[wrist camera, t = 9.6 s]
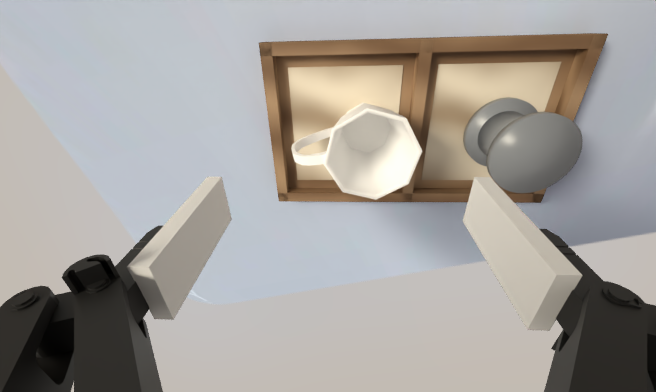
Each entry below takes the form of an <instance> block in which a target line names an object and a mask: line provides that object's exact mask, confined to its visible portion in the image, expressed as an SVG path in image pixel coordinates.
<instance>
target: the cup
mask: <svg viewBox="0 0 656 392" xmlns="http://www.w3.org/2000/svg"><path fill="white" fill-rule="evenodd" d="M328 137H330V140H329V144H328V148H327V151H325V152H321V153H316V154H311V155H303V154H300V153H297V152H298V151H299V150H300V149H301V148H303V147H305V146H307V145H309V144H312V143H314V142H317V141H320V140H322V139H325V138H328ZM291 150H292V154H293V158H294V161H295V162H296V163H298V164H301V165H307V166H311V165H322V164H324V166H325V167H326V169H327V170H328V172H329V173H330V174H331V176H332V177H333V179H334V180H335V182H336V183H337V185H338V186H339V188H340V189H341V191H342V192H344V193H349V194H353V195H357V196H362V197H366V198H370V199H375V200H377V199H379V198H381V197H383V196H385V195H387V194H389V193H391V192H393V191H395V190H397V189H399V188H402V187H404V186H406V185H408V184H409V182H410V179H411V177H412V175H413V172H414V170H415V168H416V165H417V163H418V160H419V158H420V156H421V153H422V149H421V147H420V145H419V143H418V141H417V139H416V137H415V135H414V133H413V131H412V129H411V127H410V124H409V122H408V120H407V118H405V117H403V116H402V115H399V114H397V113H395V112H393V111H391V110H389V109H385V108H381V107H379V106H375V105H371V104H367V103H363V102H362V103H361V104H359V105H357V106H356V107H354V108H353V109H351V110H349V111H348V112H347V113H346V114H345V115H344V116H342V117H341V118H340V119H339V121H338V122H337V123H336V125H335V126H334V127H332V128H328V129H324V130H322V131H319V132H316V133H313V134H310V135H308V136H305V137H303V138H301V139H299V140H297V141H296V142H295V143H293V144H292V148H291Z"/></svg>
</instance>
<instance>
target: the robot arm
mask: <svg viewBox="0 0 656 392" xmlns="http://www.w3.org/2000/svg"><path fill="white" fill-rule="evenodd" d="M231 219H232V218H231V214H230V210H229V206H228V202H227V198H226V194H225V189H224V185H223V181H222V177H207V178H206V179H205V180H204V181H203V182H202V184H201V185H200V186H199V187H198V188H197V189H196V190H195V191H194V192H193V194H192V195H191V196H190V197H189V198H188V199H187V200H186V201H185V203H184V204H183V205H182V206H181V207H180V208H179V209H178V210H177V211H176V213H175V214H174V215H173V216H172V217H171V218H170V219H169V220H168V222H167V223H166V224H165V225H164V226H157V227H156V228H154V229H152V230H151V231H149V232H148V233H146V235H145V236H144V237H143V238H142V239H141V240H140V242H139V243H137V244H136V245H135V246H134V248H133V249H131V250H130V252H129V253H128V254H127V255H126V256H125V257H124V258H123V259H122V260H121V261H120V262H119V263H118V264H117V265H116V266H114V265H113V263H112V261H111V259H110V258H109V256H107V255H94V256H90V257H86V258H84V259H82V260H80V261H78V262H76V263H74V264H73V265H71V266H70V267H69V268H68V269H67V270H66V271H65V272H64V274H63V276H62V278H63V280H64V281H65V283H66V284H67V286H68V287H69V288H70V290H71V291H72V292H67V293H63V294H58V295H54V294H53V292H52V291H51V290H50V289H49V288H48V287H46V286H38V287H33V288H30V289H27V290H24V291H22V292H20V293H18V294H16V295H14V296H13V297H11V298H10V299H9V300H7V301H6V302H5V303H4V304H3V305H2V306H1V307H0V392H71V388H72V385H73V382H74V392H163V391H162V387H161V382H160V378H159V375H158V370H157V366H156V362H155V358H154V354H153V350H152V346H151V341H150V337H149V333H148V329H147V325H146V322H145V320H144V319H143V317H144V316H145V314H146V313H147V311H148V310H150V312H151V313H152V315H153V317H154V319H174V318H175V316H176V314H177V313H178V311H179V309H180V308H181V306H182V304H183V302H184V300H185V299H186V297H187V295H188V294H189V292H190V290H191V289H192V287H193V285H194V283H195V282H196V280H197V278H198V276H199V275H200V273H201V271H202V270H203V268H204V266H205V264H206V263H207V261H208V259H209V257H210V256H211V254H212V252H213V250H214V249H215V247H216V245H217V244H218V242H219V240H220V238H221V237H222V235H223V233H224V231H225V230H226V228H227V226H228V225H229V223H230V221H231ZM463 222H464V224H465V226H466V227H467V229H468V231H469V233H470V234H471V236H472V238H473V239H474V241H475V243H476V244H477V246H478V248H479V249H480V251H481V253H482V254H483V256H484V258H485V259H486V261H487V263H488V264H489V266H490V268H491V270H492V271H493V273H494V275H495V276H496V278H497V280H498V281H499V283H500V285H501V286H502V288H503V289H504V291H505V293H506V295H507V296H508V298H509V300H510V301H511V303H512V305H513V307H514V308H515V310H516V311H517V313H518V315H519V317H520V318H521V320H522V322H523V323H524V325H525V327H526V328H527V330H547V331H549V330H550V329H551V327H552V326H553V324H554V322H555V321H556V320H557V321H558V322H559V324H560V325H561V326H562V328H563V331H562V332H561V334H560V336H559V337H558V339H557V340H556V342H555V344H554V345H553V347H552V349H553V350H555V354H554V357H553V361H552V365H551V369H550V372H549V376H548V380H547V383H546V387H545V390H544V392H656V306H654V305H650V304H646V303H644V302H643V301H642V299H641V298H640V297H639V296H637V295H636V294H635V293H633V292H632V291H630V290H629V289H626V288H624V287H622V286H620V285H618V284H614V283H611V282H605V281H603V280H602V279H601V278H600V277H599V276H598V275H597V274H596V273H595V272H594V271H593V270H592V269H591V268H590V267H589V266H588V265H587V264H586V263H585V262H584V261H583V260H582V259H581V258H579V256H578V255H576V253H575V252H574V251H573V250H572V249H571V248H568V245H567V244H566V243H565V242H564V241H563V240H562V239H561V238H560V237H558V236H557V235H555V234H554V233H552V232H550V231H549V230H547V229H538V227H537V226H536V225H535V224H534V223H533V222H532V221H531V220H530V219H529V218H528V217H527V216H526V215H525V214H524V213H523V212H522V210H521V209H520V208H519V207H518V206H517V205H516V204H515V203H514V202H513V201H512V200H511V199H510V198H509V197H508V196H507V195H506V193H505V192H504V191H503V190H502V189H501V188H500V187H499V186H498V185H497V184H496V183H495V182H494V181H493V180H492V179H491V178H490V177H474V180H473V184H472V188H471V192H470V196H469V199H468V203H467V207H466V211H465V215H464V218H463Z"/></svg>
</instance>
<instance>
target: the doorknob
mask: <svg viewBox="0 0 656 392" xmlns="http://www.w3.org/2000/svg"><path fill="white" fill-rule="evenodd" d="M463 143H464V147H465V150H466V152H467V153H468V155H469V156H470V157H471V158H472V159H473V160H474V161H475V162H477V163H478V164H480V165H483V166H487V170H488V173H489V175H490V176H491V178H492V179H493V180H494V181H495V182H496V183H497V184H498V185H499V186H500V187H502V188H503V189H505V190H507V191H510V192H514V193H531V192H536V191H539V190H542V189H545V188H547V187H549V186H551V185H553V184H554V183H556V182H557V181H559V180H560V179H562V178H563V177H564V176H565V175H566V174H567V173H568V172H569V171H570V170H571V169H572V167H573V166H574V165H575V163H576V162H577V160H578V158H579V155H580V153H581V149H582V135H581V131H580V129H579V128H578V126H577V125H576V124H575V123H574V122H573V121H572V120H570V119H569V118H567V117H564V116H562V115H559V114H556V113H552V112H537V110H536V109H535V107H534V106H532V105H531V104H530V103H528V102H526V101H523V100H521V99H518V98H511V97H507V98H500V99H496V100H493V101H491V102H489V103H487V104H485V105H484V106H482V107H481V108H480V109H479V110H477V111H476V112H475V113H474V115H473V116H472V117H471V118H470V120H469V122H468V123H467V125H466V128H465V131H464V136H463Z"/></svg>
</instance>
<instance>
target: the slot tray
mask: <svg viewBox="0 0 656 392" xmlns="http://www.w3.org/2000/svg"><path fill="white" fill-rule="evenodd" d="M607 36H608V34H592V33H590V34H552V35H514V36H477V37H439V38H401V39H363V40H325V41H287V42H261V43H259V48H260V56H261V64H262V72H263V80H264V87H265V95H266V103H267V111H268V119H269V127H270V135H271V143H272V151H273V158H274V166H275V174H276V182H277V190H278V198H279V201H335V202H468V199H469V196H470V192H471V188H472V184H473V180H474V177H490V178H491V176H490V175H489V173H488V170H487V166H483V165H480V164H478V163H477V162H475V161H474V160H473V159H472V158H471V157H470V156H469V155H468V153H467V152H466V150H465V147H464V143H463V136H464V131H465V128H466V125H467V123H468V122H469V120H470V118H471V117H472V116H473V115H474V113H475V112H476V111H477V110H479V109H480V108H481V107H482V106H484V105H485V104H487V103H489V102H491V101H493V100H496V99H500V98H507V97H511V98H518V99H521V100H523V101H526V102H528V103H530V104H531V105H532V106H534V107H535V109H536V110H537V112H552V113H556V114H559V115H562V116H564V117H567V118H569V119H570V120H572V121H574V118H575V116H576V113H577V111H578V108H579V106H580V103H581V101H582V98H583V96H584V93H585V91H586V88H587V86H588V83H589V81H590V78H591V76H592V73H593V71H594V68H595V66H596V63H597V61H598V58H599V56H600V53H601V51H602V48H603V46H604V43H605V41H606V38H607ZM362 102H363V103H367V104H371V105H375V106H379V107H381V108H385V109H389V110H391V111H393V112H395V113H397V114H399V115H402V116H403V117H405V118H407V120H408V122H409V124H410V127H411V129H412V131H413V133H414V135H415V137H416V139H417V141H418V143H419V145H420V147H421V149H422V153H421V156H420V158H419V160H418V163H417V165H416V168H415V170H414V172H413V175H412V177H411V179H410V182H409V184H408V185H406V186H404V187H402V188H399V189H397V190H395V191H393V192H391V193H389V194H387V195H385V196H383V197H381V198H379V199H377V200H375V199H370V198H366V197H362V196H357V195H353V194H349V193H344V192H342V191H341V189H340V188H339V186H338V185H337V183H336V182H335V180H334V179H333V177H332V176H331V174H330V173H329V172H328V170H327V169H326V167H325V166H324V164H322V165H311V166H307V165H301V164H298V163H296V162H295V161H294V158H293V154H292V150H291V148H292V144H293V143H295V142H296V141H297V140H299V139H301V138H303V137H305V136H308V135H310V134H313V133H316V132H319V131H322V130H324V129H328V128H332V127H334V126H335V125H336V123H337V122H338V121H339V119H340V118H341V117H342V116H344V115H345V114H346V113H347V112H348V111H349V110H351V109H353V108H354V107H356V106H357V105H359V104H361V103H362ZM329 140H330V137H328V138H325V139H322V140H320V141H317V142H314V143H312V144H309V145H307V146H305V147H303V148H301V149H300V150H299V151H298V152H297V153H300V154H303V155H311V154H316V153H321V152H325V151H327V148H328V144H329ZM491 179H492V178H491ZM492 180H493V179H492ZM493 181H494V180H493ZM494 182H495V181H494ZM495 183H496V182H495ZM496 184H497V183H496ZM497 185H498V184H497ZM498 186H499V185H498ZM499 187H500V186H499ZM500 188H501V189H502V190H503V191H504V192H505V193H506V195H507V196H508V197H509V198H510V199H511V200H512V201H513V202H534V203H541V201H542V198H543V196H544V193H545V191H546V188H545V189H542V190H539V191H536V192H531V193H514V192H510V191H507V190H505V189H503V188H502V187H500Z"/></svg>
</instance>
